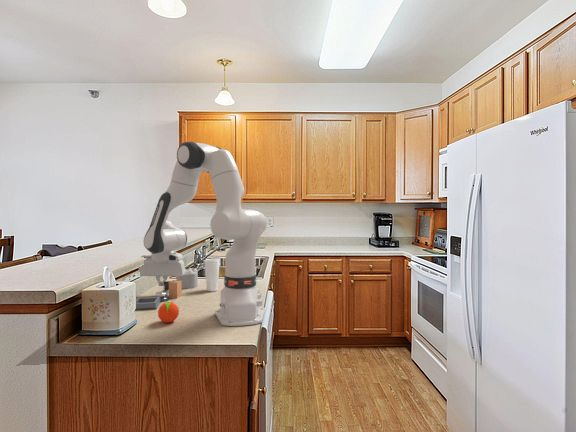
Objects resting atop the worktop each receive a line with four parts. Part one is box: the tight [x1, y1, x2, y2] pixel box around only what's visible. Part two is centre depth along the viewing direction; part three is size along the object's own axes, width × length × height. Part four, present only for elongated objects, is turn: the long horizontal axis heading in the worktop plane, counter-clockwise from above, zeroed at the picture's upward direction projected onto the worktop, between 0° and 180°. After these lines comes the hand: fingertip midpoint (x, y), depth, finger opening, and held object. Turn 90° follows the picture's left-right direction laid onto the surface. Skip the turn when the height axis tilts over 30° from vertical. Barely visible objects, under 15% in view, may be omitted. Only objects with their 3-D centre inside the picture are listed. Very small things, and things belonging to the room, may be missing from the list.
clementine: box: [157, 301, 180, 324], centre depth 120 cm, size 8×7×7 cm
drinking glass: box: [204, 257, 220, 292], centre depth 166 cm, size 7×7×15 cm
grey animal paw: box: [175, 267, 199, 290], centre depth 177 cm, size 10×13×9 cm
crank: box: [155, 280, 172, 298], centre depth 153 cm, size 13×4×4 cm, turn 1°
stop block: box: [168, 279, 183, 299], centre depth 154 cm, size 4×4×7 cm
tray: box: [135, 296, 161, 311], centre depth 139 cm, size 9×9×2 cm
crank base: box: [160, 295, 169, 303], centre depth 149 cm, size 6×6×1 cm
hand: (161, 285), depth 158 cm, fingers closed
